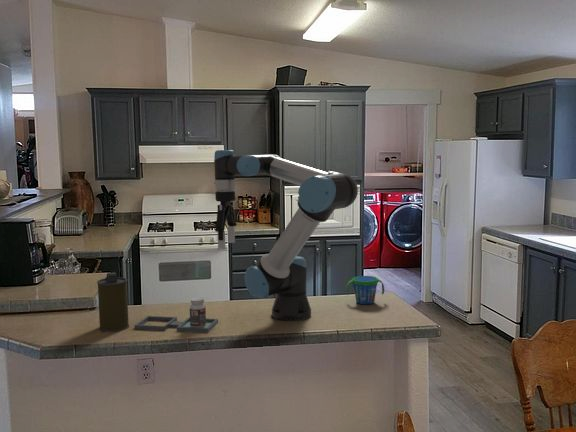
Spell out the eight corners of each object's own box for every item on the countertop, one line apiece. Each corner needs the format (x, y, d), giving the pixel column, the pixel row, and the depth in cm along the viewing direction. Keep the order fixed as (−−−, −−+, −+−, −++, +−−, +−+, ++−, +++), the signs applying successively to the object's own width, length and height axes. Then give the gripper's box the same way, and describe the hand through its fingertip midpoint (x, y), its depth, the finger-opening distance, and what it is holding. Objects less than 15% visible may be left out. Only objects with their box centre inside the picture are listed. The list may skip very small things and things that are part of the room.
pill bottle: (202, 328, 205) (202, 301, 204) (187, 327, 206) (186, 300, 205) (208, 323, 211) (207, 297, 210) (193, 323, 212) (192, 296, 211)
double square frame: (218, 322, 213) (218, 318, 213) (208, 332, 202) (208, 328, 201) (147, 319, 218) (147, 315, 218) (134, 328, 207) (134, 325, 206)
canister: (132, 328, 207) (130, 274, 204) (102, 333, 202) (99, 277, 199) (125, 321, 216) (122, 268, 214) (96, 325, 211) (93, 272, 209)
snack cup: (346, 305, 233) (346, 281, 232) (345, 299, 244) (345, 275, 243) (385, 306, 232) (385, 281, 231) (383, 299, 242) (383, 275, 241)
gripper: (224, 188, 233) (225, 240, 235) (205, 193, 208) (207, 251, 211) (242, 188, 231) (243, 240, 234) (225, 193, 207) (227, 251, 209)
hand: (226, 245), depth 222 cm, fingers open, 13 cm apart
